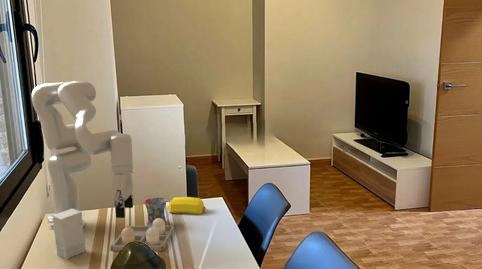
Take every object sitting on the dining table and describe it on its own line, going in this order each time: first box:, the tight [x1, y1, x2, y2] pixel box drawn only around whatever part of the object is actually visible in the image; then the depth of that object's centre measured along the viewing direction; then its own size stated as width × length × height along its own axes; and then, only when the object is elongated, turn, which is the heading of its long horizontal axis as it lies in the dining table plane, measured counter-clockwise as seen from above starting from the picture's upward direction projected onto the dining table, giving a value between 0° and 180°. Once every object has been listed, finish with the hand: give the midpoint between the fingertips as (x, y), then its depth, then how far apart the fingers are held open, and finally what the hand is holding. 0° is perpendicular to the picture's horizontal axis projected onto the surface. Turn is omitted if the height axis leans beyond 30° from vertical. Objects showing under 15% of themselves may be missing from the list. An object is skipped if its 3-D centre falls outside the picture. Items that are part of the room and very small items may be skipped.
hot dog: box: [166, 196, 207, 215], centre depth 207 cm, size 18×7×8 cm
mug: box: [143, 197, 168, 226], centre depth 193 cm, size 12×9×11 cm
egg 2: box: [152, 218, 166, 235], centre depth 181 cm, size 5×5×7 cm
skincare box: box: [51, 209, 87, 260], centre depth 167 cm, size 8×7×16 cm
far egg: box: [146, 227, 160, 246], centre depth 172 cm, size 5×5×7 cm
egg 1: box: [120, 226, 135, 246], centre depth 172 cm, size 5×5×7 cm
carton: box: [110, 225, 176, 252], centre depth 177 cm, size 19×19×2 cm
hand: (124, 212), depth 171 cm, fingers open, 9 cm apart
